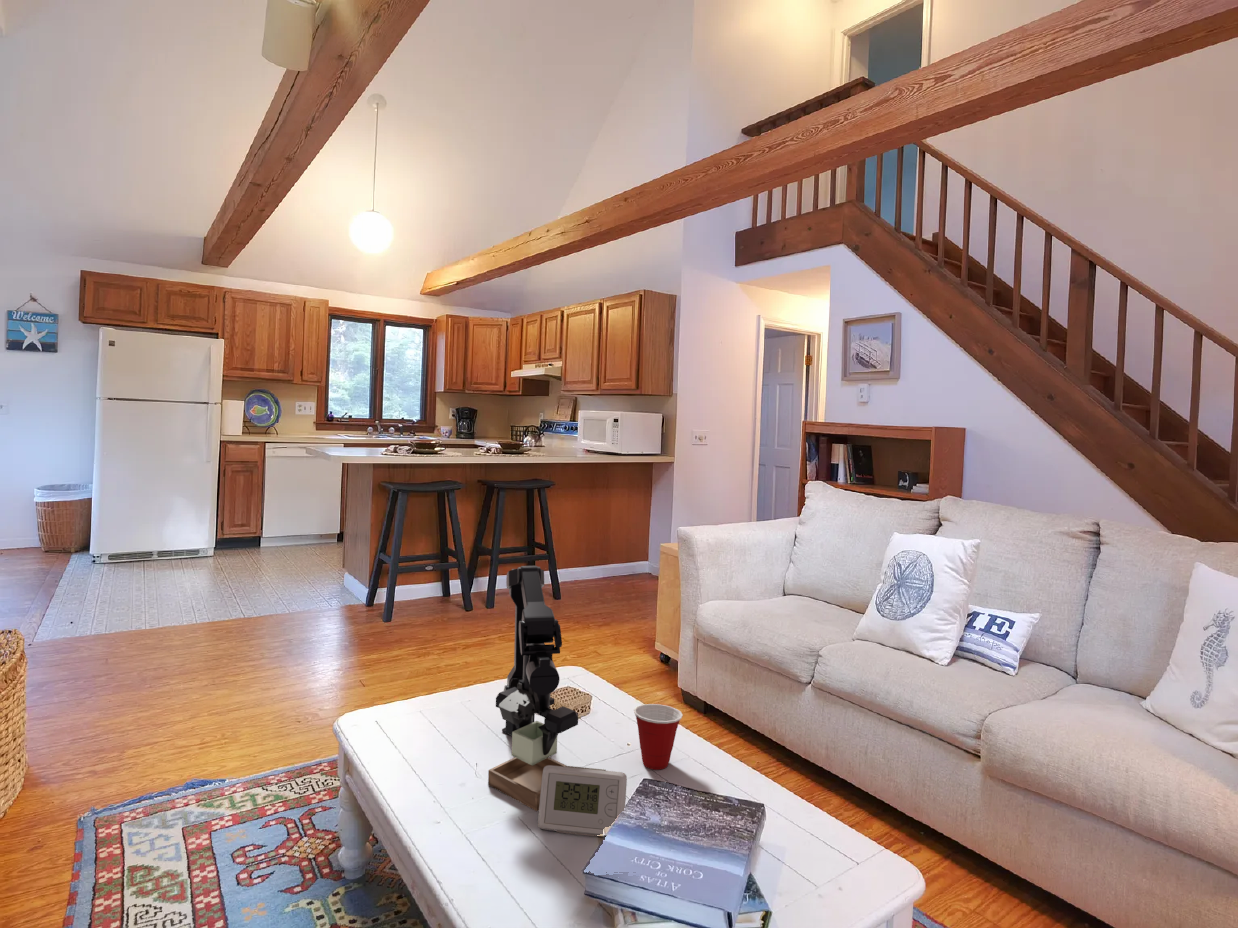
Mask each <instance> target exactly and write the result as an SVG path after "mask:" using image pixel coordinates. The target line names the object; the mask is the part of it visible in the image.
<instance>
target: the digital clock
mask: <svg viewBox="0 0 1238 928" xmlns="http://www.w3.org/2000/svg"><path fill="white" fill-rule="evenodd" d="M627 781H628V777H627V774H626V773H624V772H622V771H613V770H606V769H604V768H603V769H602V768H591V767H585V766H584V767H581V766H574V765H572V766H571V765H566V766H565V767H563V766H552V765H548V766H545V767H544V769H543V774H542V784H541V794H540V804H539V811H538V814H537V815H538V817H537V826H538V828H539V829H542V830H544V831H545V830H546V831H556V833H563V834H569V835H571V834H572V835H580V836H588V837H597V835H600V834H603V829H604V828H605V827H609V826H611V824H612V823H613V822H614V821H615V819H616V818H617V816H618V815H619V814H620V813H621V812H622V811H624V808H625V809H626V801H627V800H626V798H627V797H626V796H627V786H628V784H627V783H628V782H627Z"/></svg>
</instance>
